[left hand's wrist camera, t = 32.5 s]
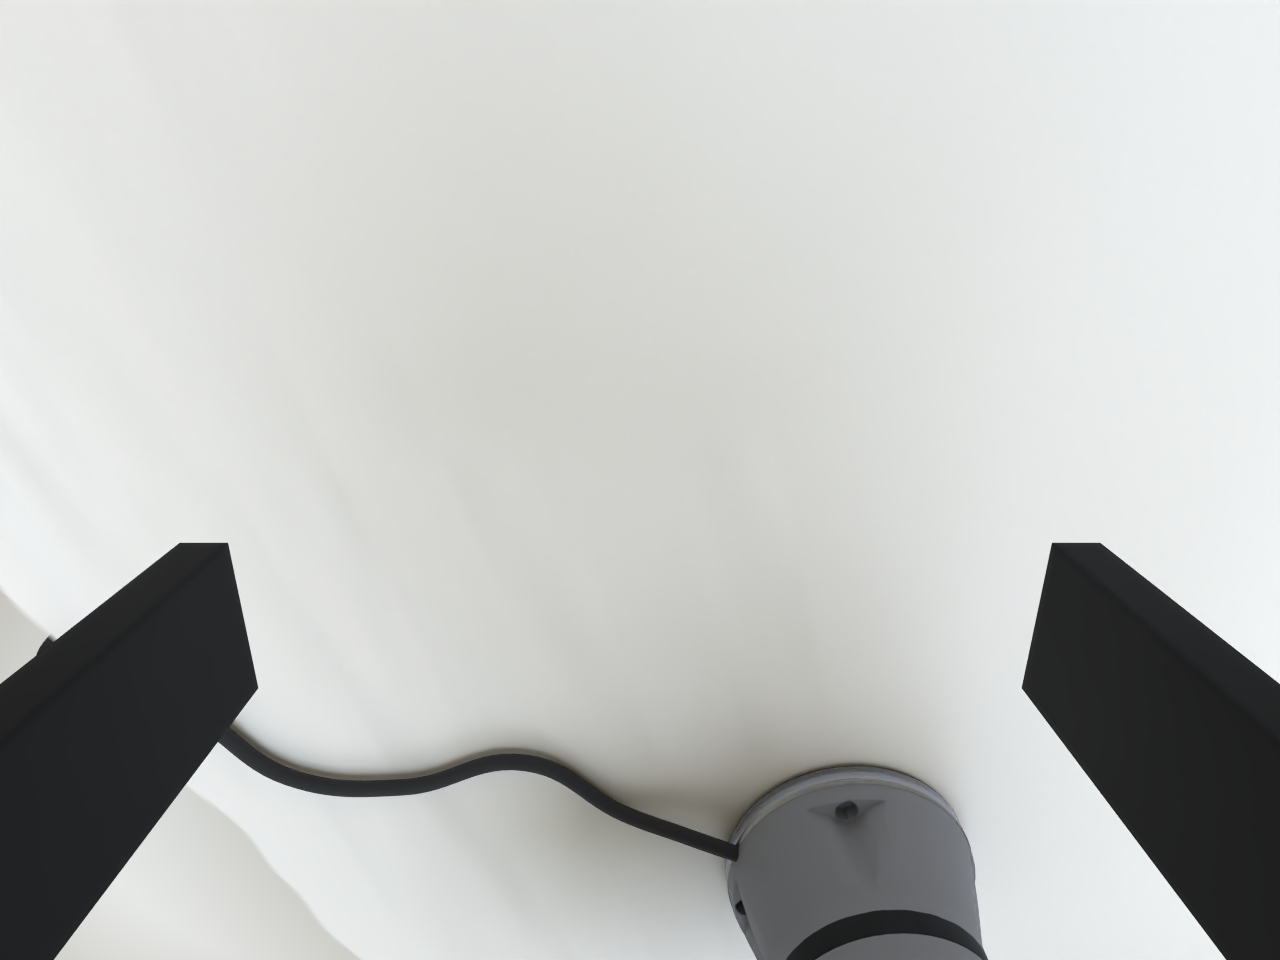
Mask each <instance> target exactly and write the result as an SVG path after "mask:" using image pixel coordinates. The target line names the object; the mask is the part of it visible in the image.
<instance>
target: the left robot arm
mask: <svg viewBox="0 0 1280 960" xmlns="http://www.w3.org/2000/svg"><path fill="white" fill-rule="evenodd" d="M257 689H258V685H257V680H256V675H255V670H254V665H253V661H252V656H251V651H250V646H249V642H248V637H247V632H246V627H245V622H244V618H243V613H242V608H241V603H240V599H239V594H238V589H237V584H236V579H235V575H234V570H233V565H232V560H231V555H230V551H229V546H228V543H179V544H178V545H177V546H175V547H174V548H173V549H171V550H170V551H169V552H168V553H166V554H165V555H164V556H163V557H161V558H160V559H159V560H157V561H156V562H155V563H154V564H152V565H151V566H150V567H149V568H147V569H146V570H145V571H143V572H142V573H141V574H140V575H138V576H137V577H136V578H135V579H133V580H132V581H131V582H129V583H128V584H127V585H126V586H124V587H123V588H122V589H121V590H119V591H118V592H117V593H115V594H114V595H113V596H112V597H110V598H109V599H108V600H107V601H105V602H104V603H103V604H102V605H100V606H99V607H98V608H96V609H95V610H94V611H93V612H91V613H90V614H89V615H88V616H86V617H85V618H84V619H82V620H81V621H80V622H79V623H77V624H76V625H75V626H74V627H72V628H71V629H70V630H68V631H67V632H66V633H65V634H63V635H62V636H61V637H60V638H58V639H57V640H55V639H54V638H53V637H52V636H51V635H49V636H48V637H47V638H46V640H45V641H44V642H43V643H42V645H41V646H40V648H39V650H38V652H37V654H36V656H35V657H34V658H33V659H32V660H30V661H29V662H28V663H27V664H25V665H24V666H23V667H21V668H20V669H19V670H18V671H16V672H15V673H14V674H13V675H11V676H10V677H9V678H7V679H6V680H5V681H4V682H2V683H1V684H0V960H54V959H55V957H56V956H57V955H58V953H59V952H60V951H61V949H62V948H63V947H64V945H65V944H66V943H67V941H68V940H69V939H70V937H71V936H72V935H73V933H74V932H75V931H76V929H77V928H78V927H79V925H80V924H81V923H82V921H83V920H84V919H85V917H86V916H87V915H88V913H89V912H90V911H91V909H92V908H93V907H94V905H95V904H96V903H97V902H98V900H99V899H100V898H101V896H102V895H103V894H104V892H105V891H106V890H107V888H108V887H109V886H110V884H111V883H112V882H113V880H114V879H115V878H116V876H117V875H118V874H119V872H120V871H121V870H122V868H123V867H124V866H125V864H126V863H127V862H128V860H129V859H130V858H131V856H132V855H133V854H134V852H135V851H136V850H137V848H138V847H139V846H140V844H141V843H142V842H143V840H144V839H145V838H146V836H147V835H148V834H149V832H150V831H151V830H152V828H153V827H154V826H155V824H156V823H157V822H158V820H159V819H160V818H161V817H162V815H163V814H164V813H165V811H166V810H167V809H168V807H169V806H170V805H171V803H172V802H173V801H174V799H175V798H176V797H177V795H178V794H179V793H180V791H181V790H182V789H183V787H184V786H185V785H186V783H187V782H188V781H189V779H190V778H191V777H192V775H193V774H194V773H195V771H196V770H197V769H198V767H199V766H200V765H201V763H202V762H203V761H204V759H205V758H206V757H207V755H208V754H209V753H210V751H211V750H212V749H213V747H214V746H215V745H216V743H217V742H219V743H220V744H221V745H223V746H224V747H225V748H226V749H227V750H229V751H230V752H231V753H232V754H233V755H235V756H236V757H237V758H238V759H240V760H241V761H242V762H244V763H245V764H246V765H248V766H249V767H251V768H252V769H254V770H255V771H257V772H259V773H260V774H262V775H264V776H266V777H268V778H270V779H272V780H274V781H276V782H279V783H282V784H284V785H287V786H290V787H293V788H297V789H300V790H304V791H308V792H313V793H318V794H324V795H331V796H342V797H380V796H401V795H412V794H419V793H424V792H429V791H433V790H436V789H440V788H443V787H446V786H449V785H451V784H454V783H457V782H460V781H462V780H465V779H468V778H471V777H474V776H477V775H480V774H484V773H488V772H493V771H501V770H519V771H528V772H533V773H537V774H541V775H544V776H547V777H549V778H552V779H554V780H556V781H558V782H560V783H561V784H563V785H565V786H566V787H568V788H569V789H571V790H572V791H574V792H575V793H577V794H578V795H579V796H581V797H582V798H584V799H585V800H586V801H588V802H589V803H591V804H592V805H594V806H595V807H597V808H598V809H600V810H601V811H603V812H605V813H606V814H608V815H610V816H612V817H614V818H616V819H618V820H620V821H622V822H625V823H627V824H629V825H632V826H634V827H637V828H640V829H642V830H645V831H648V832H651V833H654V834H656V835H659V836H662V837H665V838H668V839H671V840H674V841H677V842H680V843H683V844H685V845H688V846H691V847H694V848H697V849H699V850H702V851H705V852H708V853H711V854H714V855H717V856H720V857H722V858H725V859H726V866H725V867H726V877H727V885H728V893H729V898H730V902H731V905H732V908H733V911H734V914H735V917H736V919H737V921H738V923H739V925H740V927H741V929H742V931H743V933H744V934H745V936H746V939H747V941H748V943H749V945H750V947H751V949H752V951H753V952H754V954H755V956H756V958H757V960H988V958H987V956H986V954H985V951H984V949H983V947H982V939H981V930H980V920H979V911H978V903H977V895H976V888H975V865H974V860H973V856H972V853H971V848H970V845H969V842H968V839H967V837H966V835H965V833H964V831H963V829H962V827H961V825H960V823H959V821H958V819H957V817H956V815H955V813H954V812H953V810H952V809H951V807H950V806H949V805H948V803H947V802H946V801H945V800H944V799H943V798H942V797H941V796H940V795H939V794H938V793H936V792H935V791H934V790H933V789H931V788H930V787H928V786H927V785H925V784H924V783H922V782H920V781H918V780H917V779H914V778H912V777H910V776H907V775H905V774H902V773H899V772H896V771H891V770H887V769H882V768H876V767H865V766H846V767H835V768H829V769H823V770H819V771H815V772H811V773H808V774H805V775H802V776H799V777H797V778H795V779H792V780H790V781H788V782H786V783H784V784H782V785H780V786H778V787H777V788H775V789H774V790H772V791H770V792H769V793H767V794H766V795H765V796H764V797H762V798H761V799H760V800H758V801H757V802H756V803H755V804H754V805H753V806H752V807H751V808H750V809H749V810H748V811H747V813H746V814H745V815H744V816H743V818H742V819H741V820H740V822H739V823H738V825H737V827H736V828H735V830H734V832H733V834H732V837H731V839H730V841H729V843H728V842H726V841H723V840H720V839H717V838H714V837H711V836H708V835H705V834H703V833H700V832H697V831H694V830H691V829H688V828H686V827H683V826H680V825H677V824H674V823H671V822H668V821H665V820H662V819H659V818H656V817H654V816H651V815H648V814H645V813H642V812H640V811H637V810H635V809H632V808H630V807H628V806H626V805H623V804H621V803H619V802H617V801H616V800H614V799H612V798H610V797H609V796H607V795H605V794H604V793H602V792H601V791H599V790H598V789H597V788H595V787H594V786H592V785H591V784H590V783H588V782H587V781H586V780H584V779H583V778H581V777H580V776H578V775H577V774H576V773H574V772H572V771H571V770H569V769H568V768H566V767H564V766H562V765H560V764H558V763H555V762H553V761H550V760H548V759H544V758H541V757H537V756H531V755H524V754H499V755H492V756H487V757H483V758H479V759H476V760H472V761H470V762H467V763H464V764H461V765H458V766H456V767H453V768H450V769H448V770H445V771H442V772H439V773H436V774H432V775H428V776H424V777H418V778H410V779H397V780H375V781H351V780H337V779H329V778H323V777H319V776H314V775H310V774H306V773H303V772H300V771H296V770H293V769H291V768H288V767H286V766H283V765H281V764H279V763H277V762H275V761H273V760H271V759H270V758H268V757H266V756H265V755H263V754H262V753H260V752H259V751H258V750H256V749H255V748H254V747H252V746H251V745H250V744H249V743H247V742H246V741H245V740H244V739H243V738H241V737H240V736H239V735H238V734H237V733H235V732H234V731H233V730H232V729H231V728H229V726H230V725H231V724H232V722H233V721H234V720H235V718H236V717H237V716H238V714H239V713H240V712H241V710H242V709H243V708H244V706H245V705H246V704H247V702H248V701H249V700H250V698H251V697H252V696H253V694H254V693H255V692H256V690H257ZM1022 689H1023V690H1024V692H1025V693H1026V694H1027V696H1028V697H1029V698H1030V700H1031V701H1032V702H1033V704H1034V705H1035V706H1036V708H1037V709H1038V710H1039V712H1040V713H1041V714H1042V716H1043V717H1044V718H1045V720H1046V721H1047V722H1048V724H1049V725H1050V726H1051V728H1052V729H1053V730H1054V732H1055V733H1056V734H1057V736H1058V737H1059V738H1060V739H1061V741H1062V742H1063V743H1064V745H1065V746H1066V747H1067V749H1068V750H1069V751H1070V753H1071V754H1072V755H1073V757H1074V758H1075V759H1076V761H1077V762H1078V763H1079V765H1080V766H1081V767H1082V769H1083V770H1084V771H1085V773H1086V774H1087V775H1088V777H1089V778H1090V779H1091V781H1092V782H1093V783H1094V785H1095V786H1096V787H1097V789H1098V790H1099V791H1100V793H1101V794H1102V795H1103V797H1104V798H1105V799H1106V801H1107V802H1108V803H1109V805H1110V806H1111V807H1112V809H1113V810H1114V811H1115V813H1116V814H1117V815H1118V817H1119V818H1120V819H1121V821H1122V822H1123V823H1124V824H1125V826H1126V827H1127V828H1128V830H1129V831H1130V832H1131V834H1132V835H1133V836H1134V838H1135V839H1136V840H1137V842H1138V843H1139V844H1140V846H1141V847H1142V848H1143V850H1144V851H1145V852H1146V854H1147V855H1148V856H1149V858H1150V859H1151V860H1152V862H1153V863H1154V864H1155V866H1156V867H1157V868H1158V870H1159V871H1160V872H1161V874H1162V875H1163V876H1164V878H1165V879H1166V880H1167V882H1168V883H1169V884H1170V886H1171V887H1172V888H1173V890H1174V891H1175V892H1176V894H1177V895H1178V896H1179V898H1180V899H1181V900H1182V902H1183V903H1184V904H1185V906H1186V907H1187V908H1188V909H1189V911H1190V912H1191V913H1192V915H1193V916H1194V917H1195V919H1196V920H1197V921H1198V923H1199V924H1200V925H1201V927H1202V928H1203V929H1204V931H1205V932H1206V933H1207V935H1208V936H1209V937H1210V939H1211V940H1212V941H1213V943H1214V944H1215V945H1216V947H1217V948H1218V949H1219V951H1220V952H1221V953H1222V955H1223V956H1224V957H1225V959H1226V960H1280V684H1279V683H1278V682H1276V681H1275V680H1274V679H1273V678H1271V677H1270V676H1269V675H1268V674H1266V673H1265V672H1264V671H1262V670H1261V669H1260V668H1259V667H1257V666H1256V665H1255V664H1254V663H1252V662H1251V661H1250V660H1248V659H1247V658H1246V657H1245V656H1243V655H1242V654H1241V653H1240V652H1238V651H1237V650H1236V649H1234V648H1233V647H1232V646H1231V645H1229V644H1228V643H1227V642H1226V641H1224V640H1223V639H1222V638H1220V637H1219V636H1218V635H1217V634H1215V633H1214V632H1213V631H1212V630H1210V629H1209V628H1208V627H1206V626H1205V625H1204V624H1203V623H1201V622H1200V621H1199V620H1198V619H1196V618H1195V617H1194V616H1192V615H1191V614H1190V613H1189V612H1187V611H1186V610H1185V609H1184V608H1182V607H1181V606H1180V605H1178V604H1177V603H1176V602H1175V601H1173V600H1172V599H1171V598H1170V597H1168V596H1167V595H1166V594H1165V593H1163V592H1162V591H1161V590H1159V589H1158V588H1157V587H1156V586H1154V585H1153V584H1152V583H1151V582H1149V581H1148V580H1147V579H1145V578H1144V577H1143V576H1142V575H1140V574H1139V573H1138V572H1137V571H1135V570H1134V569H1133V568H1131V567H1130V566H1129V565H1128V564H1126V563H1125V562H1124V561H1123V560H1121V559H1120V558H1119V557H1117V556H1116V555H1115V554H1114V553H1112V552H1111V551H1110V550H1109V549H1107V548H1106V547H1105V546H1103V545H1102V544H1101V543H1052V546H1051V551H1050V555H1049V560H1048V565H1047V570H1046V575H1045V579H1044V584H1043V589H1042V594H1041V599H1040V603H1039V608H1038V613H1037V618H1036V622H1035V627H1034V632H1033V637H1032V642H1031V646H1030V651H1029V656H1028V661H1027V665H1026V670H1025V675H1024V680H1023V685H1022Z"/></svg>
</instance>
